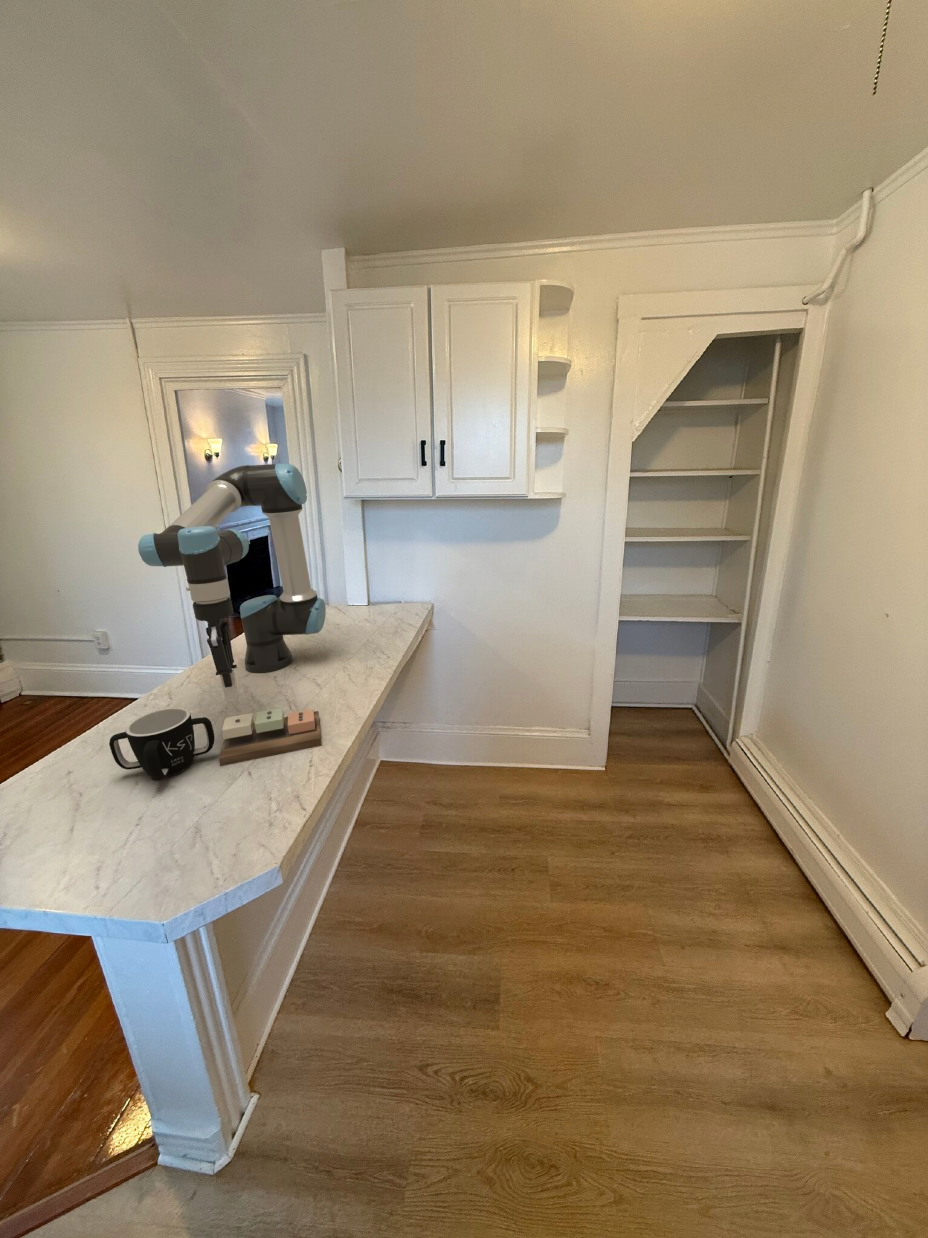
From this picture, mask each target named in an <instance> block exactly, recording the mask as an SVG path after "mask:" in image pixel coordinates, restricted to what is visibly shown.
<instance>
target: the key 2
mask: <svg viewBox="0 0 928 1238" xmlns="http://www.w3.org/2000/svg"><path fill="white" fill-rule="evenodd" d="M255 716H256V717H255V719H254V723H255V728H256V733H260V732H265V731H271V730H276V729H281V728H284V717H285V712H284V708H283V707H277V708H273V709H268V710H267V709H266V710H261V711H257V712H256V715H255Z"/></svg>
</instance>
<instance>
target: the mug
mask: <svg viewBox="0 0 928 1238" xmlns="http://www.w3.org/2000/svg"><path fill="white" fill-rule="evenodd" d="M191 715H192V714H191V711H190V710H188V709H186V708H185V707H184V708H183V707H167V708H161V709H158V710H154V711H150V712H148V713H146V714H143V715H140V716H139V717H137V718H135V719H134V720H132V721H131V722H130V723H128V725H127V726H126V727H125V731H122V732H119V733H116V734H113V735H112V736H111V737H110V739H109V748H110V751H111V756H112V757H113V760H114V761H115V763H116V765H118V766H119V767H120V768H121V769H123V770H127V771H129V770H136V769H137V770H138V769H142V770H143V771H144V773H145V774H146V775H147V776H149V777H150V778H151V780H152V781H155V782H160V781H163V780H164V779H166V778H168V777H169V778H170V777H172V776H175V775H178V774H180V773H181V772H183V771H185V770H186V769H188V768H189V767H190V766H191V765H192V764H193V762H194V758H195V757H197V756H201V755H204V754H207V753H209V752H210V751H211V750H212V749H213V747H214V745H215V732H214V728H213V724H212V721H211V720H210V719H209V717H205V716H204V717H194V718H192V716H191ZM196 725H203V727H204V729H205V733H206V738H207V739H206V740H207V743H206V745H204V746H202V747H198V748H195V747H196V743H195V742H196V741H195V730H194V726H196ZM124 739H127V741H128V743H129V746H130V748H131V751H132V753H133V754H134V756H135V758H136V760H135V761H129V760H127V759H126V758H125V757H124V754H123V753H122V750H121V747H120V742H119V741H120V740H124Z"/></svg>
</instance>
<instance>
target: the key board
mask: <svg viewBox="0 0 928 1238" xmlns="http://www.w3.org/2000/svg"><path fill="white" fill-rule="evenodd" d="M314 717H315V729H314V730H309V731H304V732H299V733H293V734H289V730H288V716H284V728H281V729H276V730H271V731H265V732H260V733H256V728H255V722H254V726H253V731H252V734H250V735H244V736H239V737H234V738H229V739H224V738H223V742H222V744H221V745H222V746H221V748H220V753H219V757H218V761H219V766H220V767H222V766H227V765H233V764H237V763H242V762H246V761H252V760H256V759H262V758H267V757H271V756H276V755H281V754H282V755H283V754H286V753H290V752H295V751H301V750H305V749H311V748H314V747H320V746H322V736H321V735H322V734H321V724H320V714H319V711H318V710H317V711H316V710H315V711H314Z"/></svg>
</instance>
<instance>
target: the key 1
mask: <svg viewBox="0 0 928 1238" xmlns="http://www.w3.org/2000/svg"><path fill="white" fill-rule="evenodd" d="M254 723H255V718H254V715H253V712H252V713H251V712H250V713H246V714H245V713H244V714H241V715H235V716H228V717H225V718H224V722H223V726H222V729H221V732H222V735H223V740H224V739H229V738H234V737H239V736H244V735H250V734H252V731H253V726H254Z"/></svg>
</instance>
